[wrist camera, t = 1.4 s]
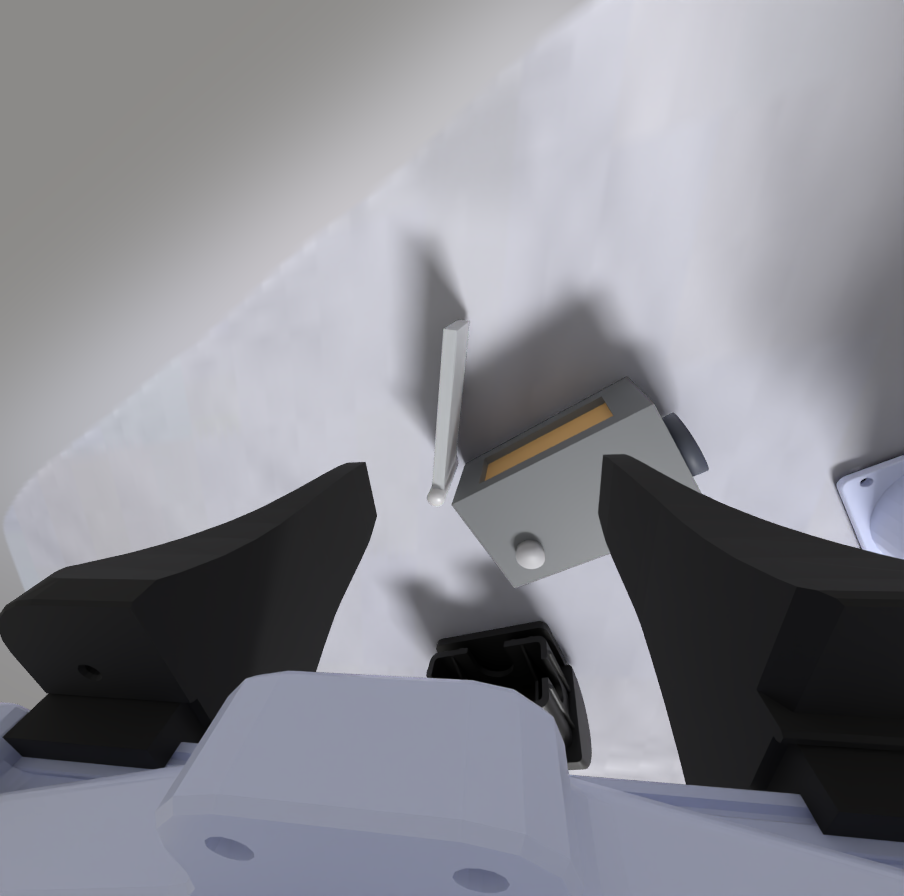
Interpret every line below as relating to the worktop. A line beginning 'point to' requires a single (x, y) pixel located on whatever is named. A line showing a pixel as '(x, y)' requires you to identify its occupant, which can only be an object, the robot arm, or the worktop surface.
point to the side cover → (449, 409)
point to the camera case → (566, 480)
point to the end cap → (522, 676)
